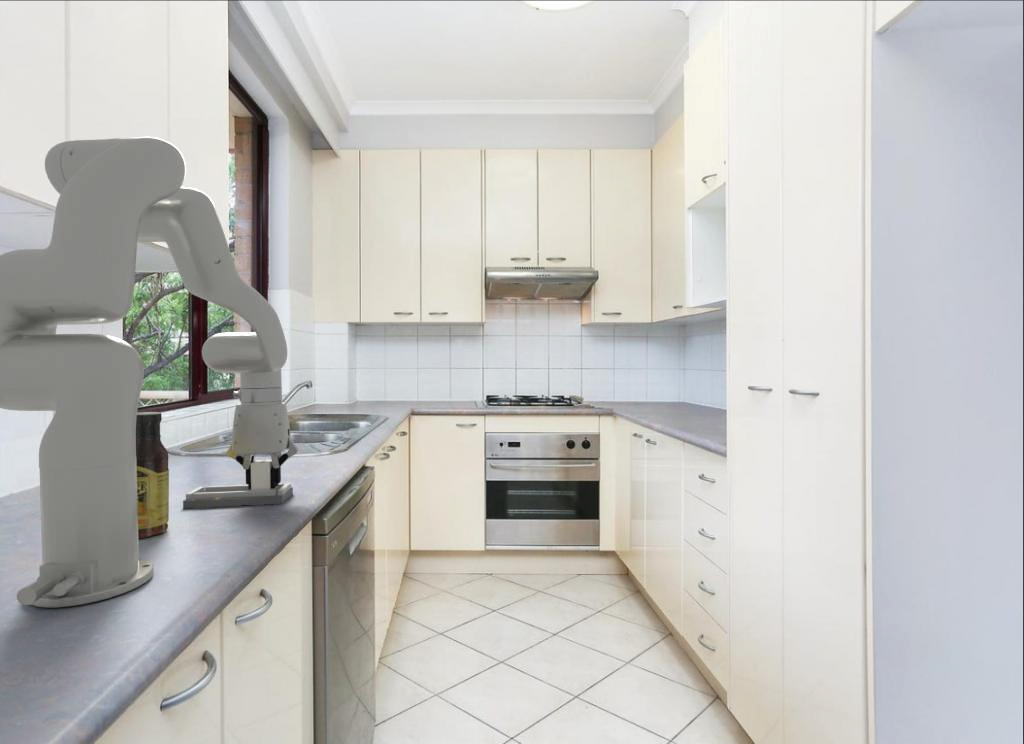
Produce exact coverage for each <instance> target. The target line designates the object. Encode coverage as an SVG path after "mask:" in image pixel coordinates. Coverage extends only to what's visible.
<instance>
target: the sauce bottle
mask: <svg viewBox="0 0 1024 744" xmlns="http://www.w3.org/2000/svg"><path fill="white" fill-rule="evenodd" d="M162 420H163V419H162V412H159V411H141V412H139V411H138V412H137V417H136V469H137V505H138V539H145V538H149V537H154V536H157V535H160V534H163V533H165V532H166V531H167V530H168V527H169V524H168V522H169V517H170V516H169V514H170V513H169V511H170V509H169V505H170V503H169V502H170V501H169V498H170V495H169V493H170V492H169V491H170V481H169V480H170V469H169V452H168V449H167V448H166V447H165V446H164V444H163V443H162V439H161V436H162V435H161V422H162Z"/></svg>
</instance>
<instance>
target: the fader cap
mask: <svg viewBox="0 0 1024 744" xmlns="http://www.w3.org/2000/svg"><path fill="white" fill-rule="evenodd" d="M271 469H272V459H257V460H254V462H252V463H251V491H255V490H274V489H275V488H271V481H270V470H271Z"/></svg>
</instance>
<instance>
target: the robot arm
mask: <svg viewBox="0 0 1024 744" xmlns="http://www.w3.org/2000/svg"><path fill="white" fill-rule="evenodd" d="M186 167H187V166H186V161H185V157H184V156H183V154H182V152H181V151H180V150H179V148H178V147H177V146H176V145H174V144H173V143H171V142H170V141H166V140H164V139H162V138H159V137H154V136H152V137H151V136H140V137H120V138H106V139H105V138H104V139H80V140H79V139H78V140H77V139H76V140H67V141H62V142H59V143H57V144H55V145H54V146H52V147H50V149H49V150H48V151H47V154H46V155H45V159H44V169H45V173H46V176H47V179H48V181H49V182H50V184H51V186H52V187H53V188H54V190H55V191H56V192H57V193H58V194H59V198H58V200H57V202H56V206H55V211H54V219H53V226H52V232H51V239H50V243H49V245H48V246H47V247H46V248H29V249H16V250H10V251H8V252H4V253H2V254H0V409H3V410H8V411H21V412H23V411H24V412H26V411H27V412H36V411H37V412H43V411H44V412H46V411H47V412H55V413H54V415H53V417H52V419H51V421H50V422H49V423H48V426H47V428H46V429H45V432H44V433H43V435H42V437H41V440H40V444H39V449H38V468H39V493H40V494H39V495H40V521H41V522H40V524H41V525H40V527H41V554H42V555H41V556H42V565H39V576H38V577H37V578H36V580H35V581H33V582H32V583H30V584H27V585H26V586H25V587H23V588H21V589H20V590H18V591H17V594H16V600H17V602H18V603H19V604H21V605H23V606H25V605H26V606H29V605H30V606H34V607H38V608H47V609H49V608H53V609H54V608H65V607H66V608H67V607H73V606H81V605H86V604H87V605H88V604H91V603H96V602H99V601H103V600H107V599H111V598H113V597H116V596H119V595H122V594H125V593H128V592H130V591H132V590H135V589H137V588H139V587H141V586H142V585H144V584H145V583H147V582H148V581H149V580H151V578H152V577H153V576H154V564H153V563H152V562H151V561H149V560H147V559H143V558H140V552H139V551H140V548H139V546H140V545H139V538H138V505H137V469H136V417H137V413H138V408H139V402H140V397H141V393H142V387H143V382H144V376H145V375H144V372H145V370H144V369H145V368H144V363H143V360H142V357H141V356H140V353H139V352H138V351H137V350H136V348H134V346H132V345H131V344H130V343H129V342H127V341H125V340H122V339H121V338H118V337H115V336H111V335H105V334H100V333H98V334H97V333H57V329H58V326H61V325H62V326H63V325H64V326H66V325H70V326H71V325H75V326H76V325H99V324H100V325H101V324H103V325H104V324H109V323H110V324H111V323H114V322H117V321H120V320H123V318H126V316H127V315H128V314H129V313H130V311H131V308H132V306H133V302H134V295H135V294H134V293H135V282H136V281H135V280H136V269H137V268H136V266H137V252H138V251H137V250H138V242H139V243H161V242H162V243H163V242H164V243H166V246H167V247H168V250H169V252H170V254H171V256H172V259H173V261H174V264H175V266H176V269H177V271H178V274H179V277H180V279H181V281H182V284H183V287H184V289H185V290H186V291H187V292H189V293H190V294H192V295H193V296H195V297H198V298H200V299H203V300H205V301H207V302H209V303H212V304H214V305H217V306H220V307H221V308H224V309H227V310H229V311H230V312H232V313H234V314H236V315H237V316H238V317H240V318H242V319H243V320H244V321H245V322H246V323H247V324H248V325H249V326H250V327H251V328H252V330H253V332H251V331H249V332H248V331H247V332H245V331H244V332H242V331H241V332H221V333H216V334H213V335H211V336H210V337H209V338H207V339H206V340H205V341H204V343H203V345H202V349H201V356H202V360H203V362H204V364H205V365H206V366H207V367H208V368H209V369H211V370H212V371H214V372H218V373H222V374H239V379H240V381H239V382H240V383H239V385H240V388H238V389H239V390H237V391H235V390H234V391H233V392H232V397H233V398H234V399H239V402H240V403H237V404H236V405H235V409H234V414H233V421H232V423H233V424H232V434H231V435H232V437H231V439H232V440H231V445H229V448H228V450H227V451H226V452H225V453H226V454H225V456H227V457H229V458H230V459H233V460H235V461H236V462H237V463H238V464H239V465H240V466H241V467H242V468H243V470H245V485H248V489H251V463H252V462H254V461H256V460H255V459H256V455H270V458H271V459H270V460H272V469H271V470H270V481H271V488H275V487H277V486H278V484H281V481H282V471H281V469H282V468H281V466H282V465H283V464H284V463H285V462H286V461H287V460H289V459H290V458H292V457H293V456H295V455H296V454H298V453H299V448H298V446H297V445H296V443H295V442H294V441H293V439H292V438H291V427H290V419H289V413H288V408H287V404H286V402H283V388H282V387H283V385H282V383H283V382H282V368H283V367H284V366H285V364H286V363H287V359H288V344H287V341H286V337H285V332H284V330H283V329H284V328H283V326H282V323H281V320H280V317H279V316H278V313H277V312H276V310H275V309H274V308H273V306H272V305H271V304H270V303H269V302H268V300H267V299H266V298H265V297H264V296H263V295H262V294H260V292H259V291H258V290H257V289H255V288H254V287H253V286H251V285H250V284H249V283H248V282H247V281H246V280H244V279H243V278H241V276H240V275H239V273H238V271H237V268H236V265H235V261H234V259H233V255H232V252H231V250H230V248H229V247H230V246H229V244H228V241H227V238H226V234H225V232H224V228H223V226H222V224H221V221H220V218H219V215H218V212H217V209H216V207H215V206H216V205H215V204H214V202H213V200H212V199H211V197H210V196H209V195H208V194H207V193H205V192H203V191H201V190H199V189H197V188H193V187H188V186H187V187H185V186H183V184H184V182H185V178H186V175H187V174H186V173H187V168H186ZM285 450H287V451H286V452H285ZM283 452H284V453H283ZM282 453H283V454H282Z"/></svg>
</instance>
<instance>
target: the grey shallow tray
mask: <svg viewBox="0 0 1024 744" xmlns="http://www.w3.org/2000/svg"><path fill="white" fill-rule="evenodd" d="M292 495H294V487H293V486H292V483H291V482H289V483H288V482H287V483H285V484H284V483H279V484H278V486H277V487H275V489H274V490H255V491H251V489H248V484H239V485H238V484H237V485H236V484H235V485H215V486H214V485H213V486H209V485H208V486H198V487H196V488H194V489H193V490H191V491H189V492H187V493H185V499H184V500H183V501H182V508H184V509H201V508H205V507H206V508H221V507H222V508H224V506H229V507H242V506H241V505H252V506H265V505H264V504H274V505H283V504H284V503H285V502H286V501H287V500H289V498H290V497H291V496H292ZM284 501H285V502H284ZM283 502H284V503H283ZM282 503H283V504H282Z"/></svg>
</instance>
